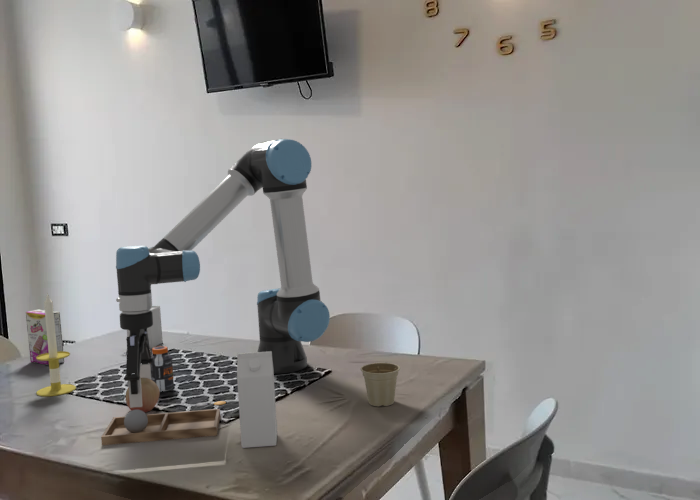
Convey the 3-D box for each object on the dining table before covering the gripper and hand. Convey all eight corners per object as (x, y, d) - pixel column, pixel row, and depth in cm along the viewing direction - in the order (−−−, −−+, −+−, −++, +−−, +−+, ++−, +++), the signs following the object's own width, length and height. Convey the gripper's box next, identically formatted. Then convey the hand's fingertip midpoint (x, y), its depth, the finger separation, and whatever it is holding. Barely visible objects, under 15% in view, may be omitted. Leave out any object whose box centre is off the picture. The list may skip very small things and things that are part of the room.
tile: (232, 399, 176) (232, 397, 176) (230, 408, 169) (230, 406, 169) (191, 403, 175) (191, 401, 175) (188, 412, 168) (188, 410, 168)
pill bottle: (167, 392, 184) (164, 350, 183) (147, 392, 186) (143, 350, 184) (177, 385, 190) (174, 344, 189) (157, 385, 191) (154, 344, 190)
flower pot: (405, 397, 172) (404, 363, 171) (395, 410, 163) (394, 374, 162) (368, 395, 175) (367, 361, 174) (356, 407, 166) (355, 372, 165)
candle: (84, 387, 193) (75, 290, 190) (55, 398, 184) (45, 296, 181) (57, 383, 197) (49, 289, 194) (27, 394, 188) (18, 295, 185)
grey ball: (150, 427, 157) (148, 405, 156) (146, 435, 152) (144, 412, 151) (127, 429, 156) (125, 407, 156) (122, 437, 151) (121, 414, 151)
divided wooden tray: (220, 418, 162) (219, 408, 162) (217, 437, 150) (216, 427, 150) (114, 427, 160) (113, 417, 159) (102, 447, 148) (101, 436, 147)
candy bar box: (29, 362, 223) (24, 311, 221) (43, 358, 227) (38, 308, 225) (51, 366, 217) (46, 314, 215) (65, 362, 221) (60, 311, 219)
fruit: (119, 415, 168) (116, 383, 167) (141, 405, 175) (138, 373, 174) (146, 418, 165) (144, 385, 164) (167, 407, 172) (165, 375, 171)
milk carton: (243, 436, 151) (238, 349, 149) (277, 433, 151) (272, 347, 149) (241, 448, 144) (235, 358, 142) (276, 446, 144) (271, 355, 142)
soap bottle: (127, 349, 235) (123, 292, 233) (139, 342, 244) (135, 288, 242) (151, 349, 234) (147, 292, 232) (163, 342, 242) (158, 288, 240)
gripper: (129, 303, 179) (134, 384, 181) (108, 322, 155) (114, 415, 157) (159, 301, 180) (164, 382, 182) (143, 320, 155) (148, 413, 157)
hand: (141, 398), depth 169 cm, fingers open, 13 cm apart
